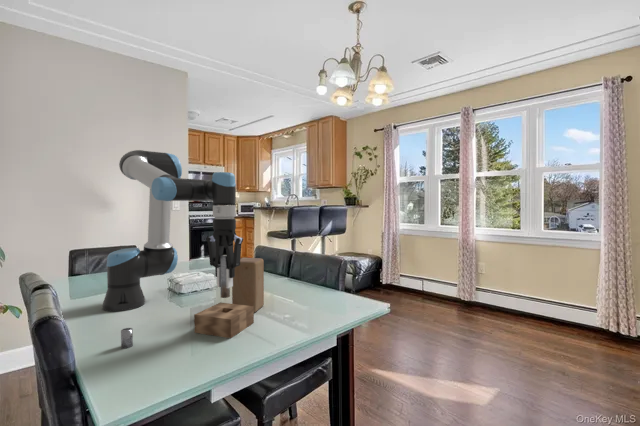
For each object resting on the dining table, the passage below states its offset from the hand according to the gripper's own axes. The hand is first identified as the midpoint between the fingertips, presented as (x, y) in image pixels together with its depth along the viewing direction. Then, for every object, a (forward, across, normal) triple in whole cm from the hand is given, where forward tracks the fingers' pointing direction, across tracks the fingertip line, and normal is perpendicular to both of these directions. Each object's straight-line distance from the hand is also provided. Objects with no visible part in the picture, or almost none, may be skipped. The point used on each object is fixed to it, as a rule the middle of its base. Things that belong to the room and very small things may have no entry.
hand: (225, 286), depth 112 cm
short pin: (+14, -19, -22) cm, 32 cm away
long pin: (+3, 0, 0) cm, 3 cm away
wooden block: (+14, -3, +20) cm, 25 cm away
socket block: (+14, 0, 0) cm, 14 cm away
